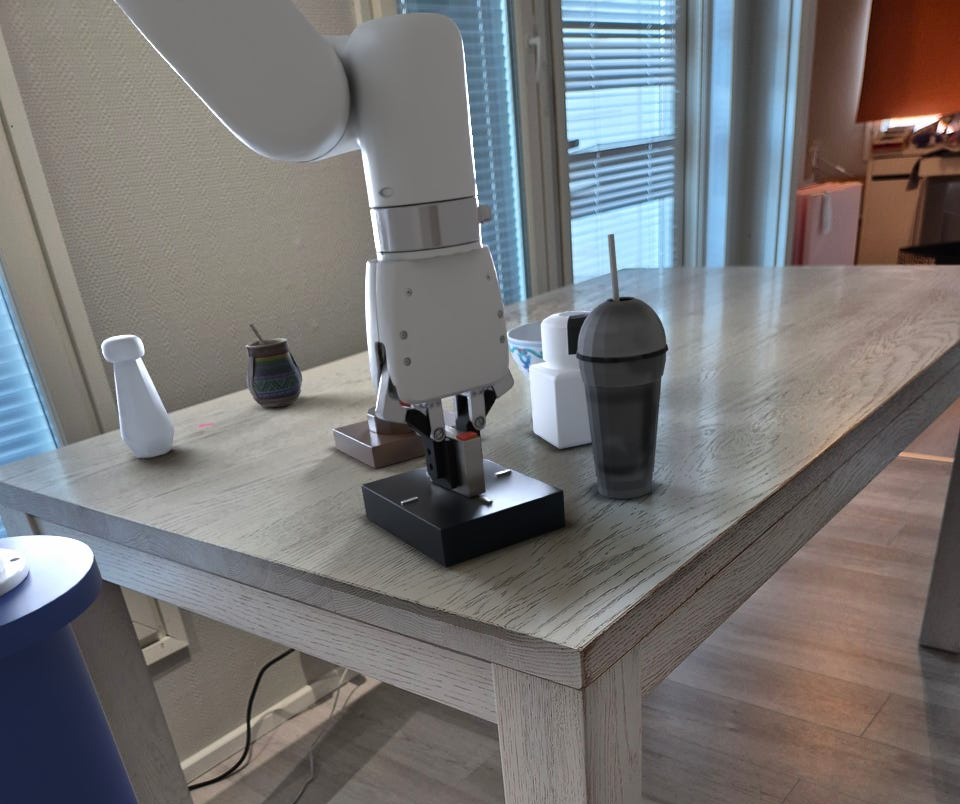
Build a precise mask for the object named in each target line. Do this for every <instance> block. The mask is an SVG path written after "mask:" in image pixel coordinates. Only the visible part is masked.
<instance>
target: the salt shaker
mask: <svg viewBox="0 0 960 804" xmlns="http://www.w3.org/2000/svg"><path fill="white" fill-rule="evenodd" d="M145 351H146V350H145V347H144V344H143V341H142V339H141V338H140V337H138V335H135V334H134V335H133V334H123V335H115V336H111V337H109V338H106V339H104V340H103V342H102V343H101V352H102V355H103V358H104V359H105V361H107V362H109V363H112V364H113V374H114V383H115V384H114V385H115V394H116V400H117V401H116V402H117V411H118V412H117V413H118V420H119V430H120V437H121V439H122V441H123V443H124V444H125V445H126V446H127V447H128V448H129V449H130V450H131V451H132V453H133V454H134V456H135V457H136V458H149V459H150V458H154V457H158V456H161V455H165V454H167V453H169V452H170V451H171V450H173V445H174V444H173V443H174V436H175V435H174V434H175V428H174V425H173V422H172V420H171V419H170V416H169V414H168V412H167V410H166V407H165V405H164V404H163V401H162V399H161V397H160V395H159V393H158V391H157V389H156V386H155V385H154V383H153V380H152V378H151V376H150V374H149V372H148V370H147V368H146V365H145V363H144V362H143V360H142V357H143V356H144V355H145Z"/></svg>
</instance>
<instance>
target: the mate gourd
mask: <svg viewBox="0 0 960 804" xmlns="http://www.w3.org/2000/svg"><path fill="white" fill-rule="evenodd" d="M248 326H249V327H250V329H251V331H252V332H253V334H254V336H255V337H256V339H257V340H256V341H252V342H249V343H247V344H246V345H245V346H244V347H245V350H246V355H247V356H248V363H247V372H246V385H247V388H248V391H249V393H250V395H251V396H252V399H253V400H254V401H255V402H256V403H257V404H258V405H259V406H261V407H262V408H264V409H265V408H278V407H279V408H280V407H284V406H285V407H286V406H288V405H291V404H293V403H295V402H296V401H297V400H298V398H299V397H300V395H301V392H302V385H303V384H302V383H303V374H302V371H301V370H300V369H301V368H300V367H299V365H298V363H297V362H296V360H295V358H294V356H293V354H292V353H291V351H290V345H289V340H288V339H287V338H285V337H277V338H267V339H263V338H262V336H261V335H260V334H259V331H258V330H257V329H256V327H255V326H254V324H253V323H252V324H248Z"/></svg>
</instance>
